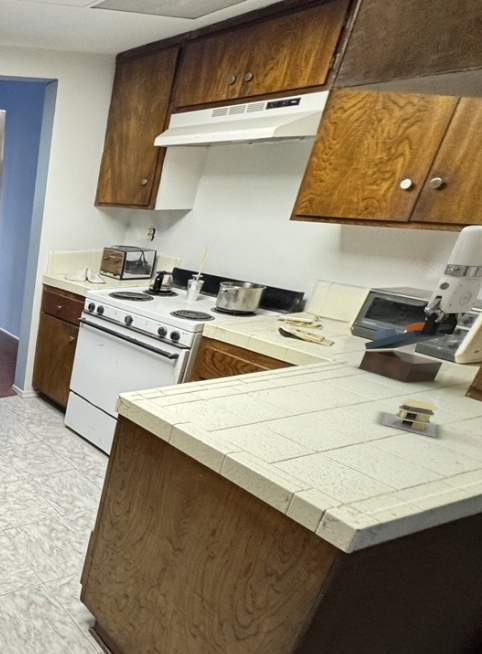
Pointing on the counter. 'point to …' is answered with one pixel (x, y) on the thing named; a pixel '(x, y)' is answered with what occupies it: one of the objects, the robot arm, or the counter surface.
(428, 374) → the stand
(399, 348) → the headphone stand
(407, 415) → the stacked layers on plate
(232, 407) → the counter surface
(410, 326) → the block
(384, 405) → the counter surface
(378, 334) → the grey-blue packet
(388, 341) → the blue slab
